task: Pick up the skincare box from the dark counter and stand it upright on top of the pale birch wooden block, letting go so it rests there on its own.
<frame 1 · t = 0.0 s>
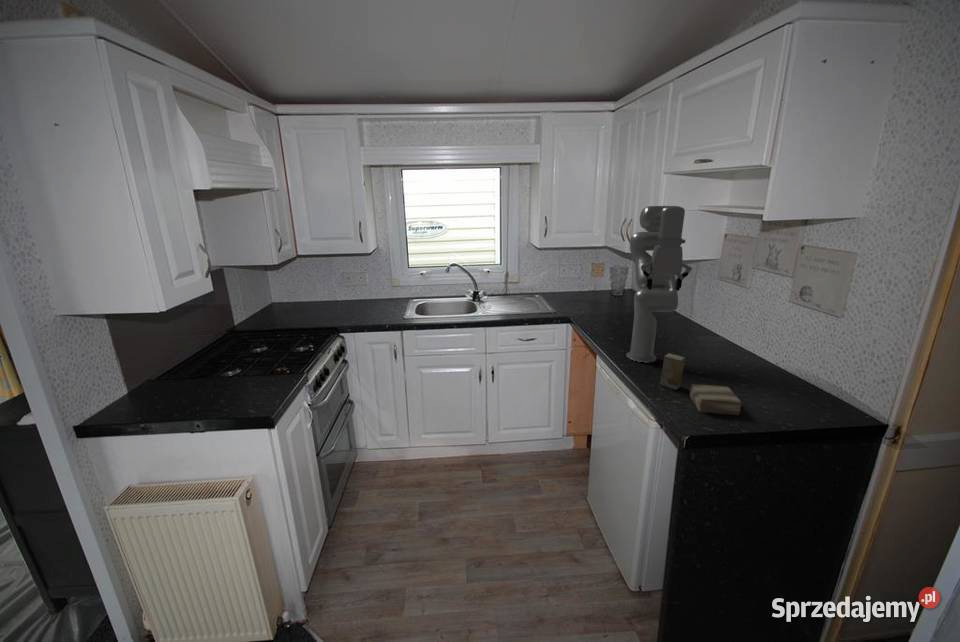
hand: (663, 289, 149), 37 cm above the countertop, tool pointing down, fingers open, 9 cm apart
skincare box: (670, 386, 154), on the countertop
birch block: (713, 405, 140), on the countertop
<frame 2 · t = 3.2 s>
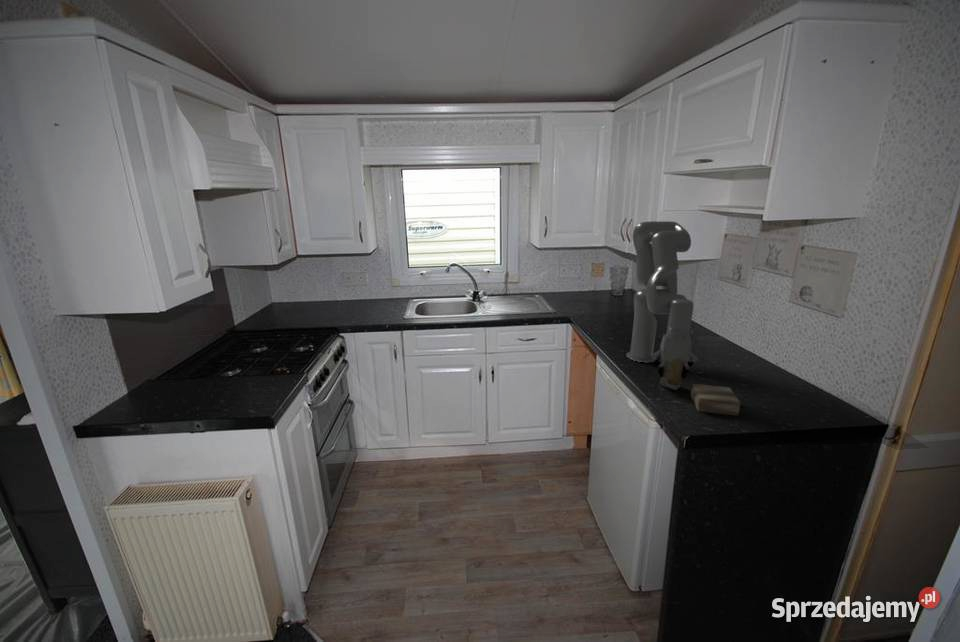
hand: (671, 376, 153), 4 cm above the countertop, tool pointing down, fingers closed on skincare box, 7 cm apart
skincare box: (670, 386, 154), on the countertop, touching gripper
everything else where it was.
when the fingers open (9 cm above the countertop, at t = 11.6 s): skincare box stays where it is, point 4 cm above the countertop.
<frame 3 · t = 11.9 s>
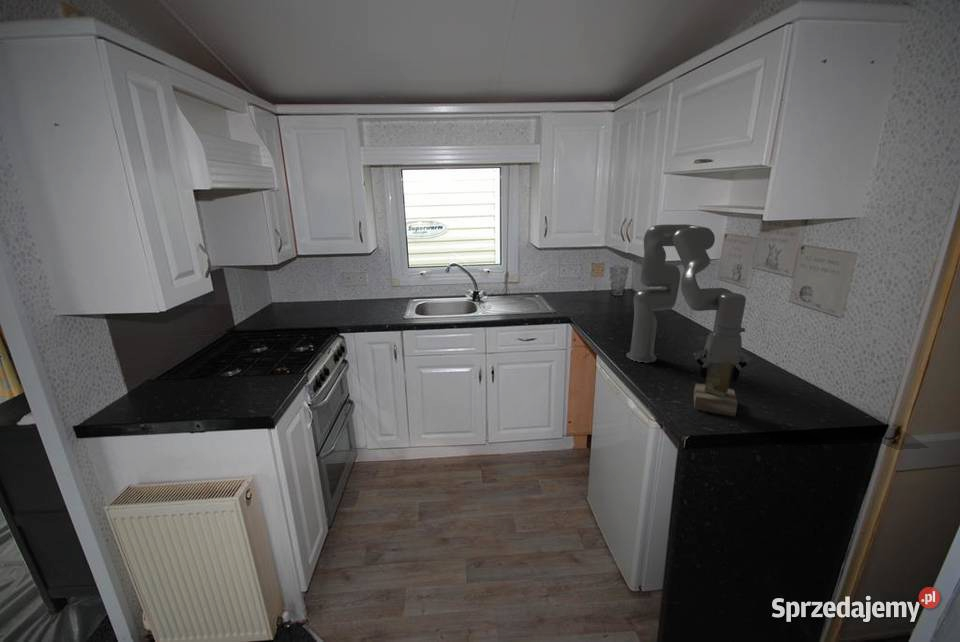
hand: (717, 378, 137), 10 cm above the countertop, tool pointing down, fingers open, 9 cm apart
skincare box: (716, 393, 139), point 4 cm above the countertop
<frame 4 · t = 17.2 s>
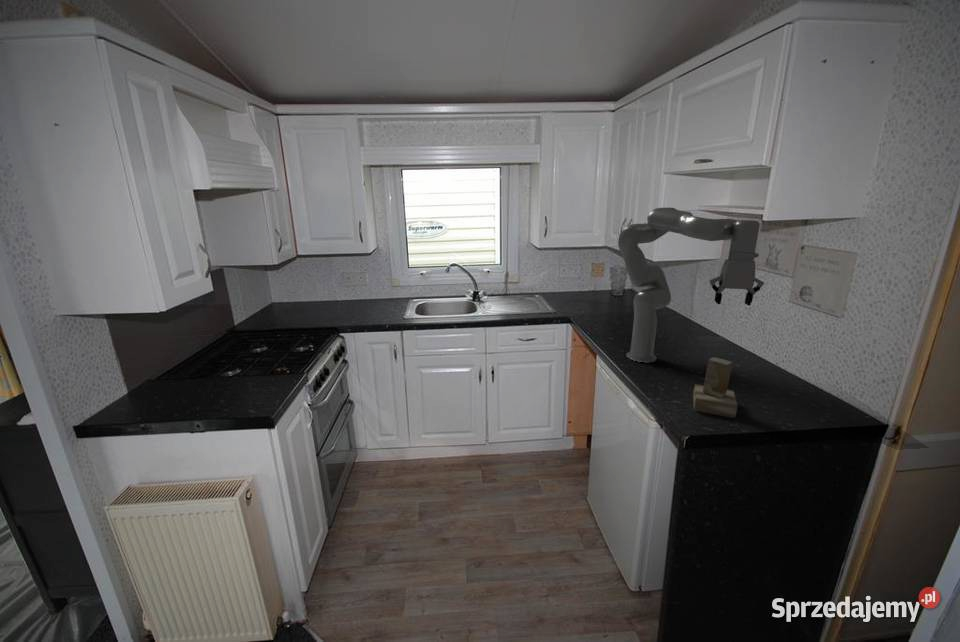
hand: (732, 303, 145), 32 cm above the countertop, tool pointing down, fingers open, 9 cm apart
skincare box: (714, 394, 138), point 4 cm above the countertop
birch block: (712, 407, 139), on the countertop
at the end: skincare box inside the target area on the birch block (0.3 cm from its centre), point 4.9 cm above the birch block's base; skincare box tilted 2°; the gripper is holding nothing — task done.
